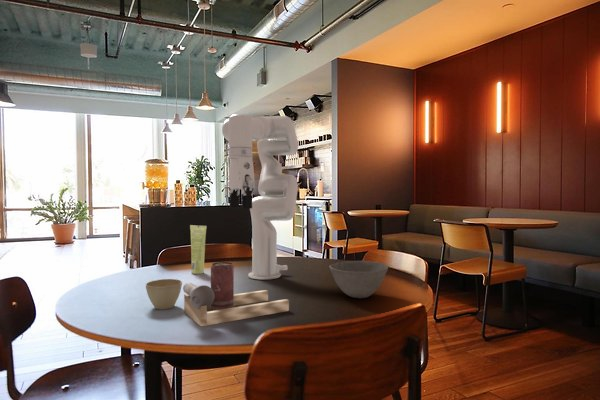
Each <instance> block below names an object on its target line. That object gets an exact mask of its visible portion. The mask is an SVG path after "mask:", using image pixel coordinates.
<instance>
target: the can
mask: <svg viewBox="0 0 600 400" xmlns="http://www.w3.org/2000/svg"><path fill="white" fill-rule="evenodd" d="M234 270H235V269H234V265H233V263H232V262H229V261H219V262H214V263H212V265H211V266H210V288H211V289H212V290H213V291H214V295H215V297H214V301H213V303H212V305H211V310H210V311H215V310H221V309H227V308H233V307H235V306H234V293H235V291H234V289H235V288H234V283H235V282H234V277H235V275H234Z"/></svg>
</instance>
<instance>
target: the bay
mask: <svg viewBox="0 0 600 400" xmlns="http://www.w3.org/2000/svg"><path fill="white" fill-rule="evenodd" d="M182 290H183V292H184V293H185V294H183V297H184V298H183V301H184V302H183V304H184V306H183V307H184V309H183V310H184V311H183V312H184V313H185V314H186V315H187V316H188V317H190V318H191V320H193V321H194V322H195V323H196V324H198V325H199V326H200V327H205V326H212V325H216V324H222V323H229V322H233V321H239V320H245V319H251V318H256V317H261V316H265V315H266V316H267V315H273V314H279V313H284V312H289V310H290V300H289V299H287V298H284V299H278V300H272V301H269V290H267V289H264V290H255V291H250V292H249V291H248V292H242V293H235V294H234V307H233V308H227V309H221V310H215V311H211V305H212V303H213V301H214V297H215V295H214V291H213V290H212V289H211V286H209V285H206V284H202V285H198V286H197V285H196V284H194V283H193V282H186V283H185V284H184V285H183V287H182Z"/></svg>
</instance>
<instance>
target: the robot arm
mask: <svg viewBox="0 0 600 400" xmlns="http://www.w3.org/2000/svg"><path fill="white" fill-rule="evenodd" d="M221 132H222V133H221V134H222V136H223V137H224V139H225V140H226V141H228V159H229V168H228V183H227V184H228V190H229V192H228V194H229V208H240V195H239V192H240V190H241V192H242V196H241V209H242V210H243V209H244V210H246V209H249V211H250V217H251V225H252V228H251V231H252V232H251V233H252V235H251V236H252V237H251V238H252V239H251V242H252V244H251V245H252V247H251V248H252V250H251V251H252V256H251V257H252V260H251V261H252V263H251V264H252V265H251V269H252V270H251V271H250V272H248V278H249V279H253V280H263V281H265V280H274V279H275V280H276V279H278V278H280V277H281V275H282V273H280V272H281V271H287V270H288V265H287V264H284V265H281V264H278V260H277V256H278V253H277V251H278V249H277V248H278V247H277V244H278V243H277V242H278V240H277V238H278V236H277V235H278V233H277V229H276V227H275V225H273V223H272V221H273V222H274V221H276V222H277V221H284V222H285V221H291V220H292V219H293V218H294V216H295V213H296V211H295V210H296V206H297V205H296V204H297V198H298V188H299V186H298V181H297V180H298V179H297V177H296V176H294V175H293V174H289V173H287V174H286V173H285V174H283V167H282V165H281V163H280V162H279V161H278V160H277V159H276V158H275V157H274V156H293V155H296V153H297V152H298V150H299V142H298V137H297V134H296V129H295V126H294V123H293V121H292V119H291V118H290V117H289V116H287V115H269V116H268V115H267V116H266V115H264V116H250V115H249V114H244V113H243V114H241V113H239V114H238V113H237V114H232V115H230V116H229V117H228V119H226V120H225V121H224V122H223V124H222V127H221ZM253 142H257V143H256V146H257V153H258V158H259V161H260V164H261V171H260V176H259V180H258V186H257V187H258V188H257V190H258V191H257V192H258V193H259V196H255V197H253V195H254V189H255V169H254V168H255V167H254V161H253Z"/></svg>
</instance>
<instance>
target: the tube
mask: <svg viewBox="0 0 600 400" xmlns="http://www.w3.org/2000/svg"><path fill="white" fill-rule="evenodd" d="M189 230H190V250H191V251H190V252H191V254H190V255H191V257H190V258H191V263H190V265H191V266H190V267H191V274H194V275H200V274H201V275H202V274H203V273H204V272H205V253H206V252H205V251H206V239H207V238H206V235H207V225H195V224H194V225H193V224H190V225H189Z"/></svg>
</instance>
